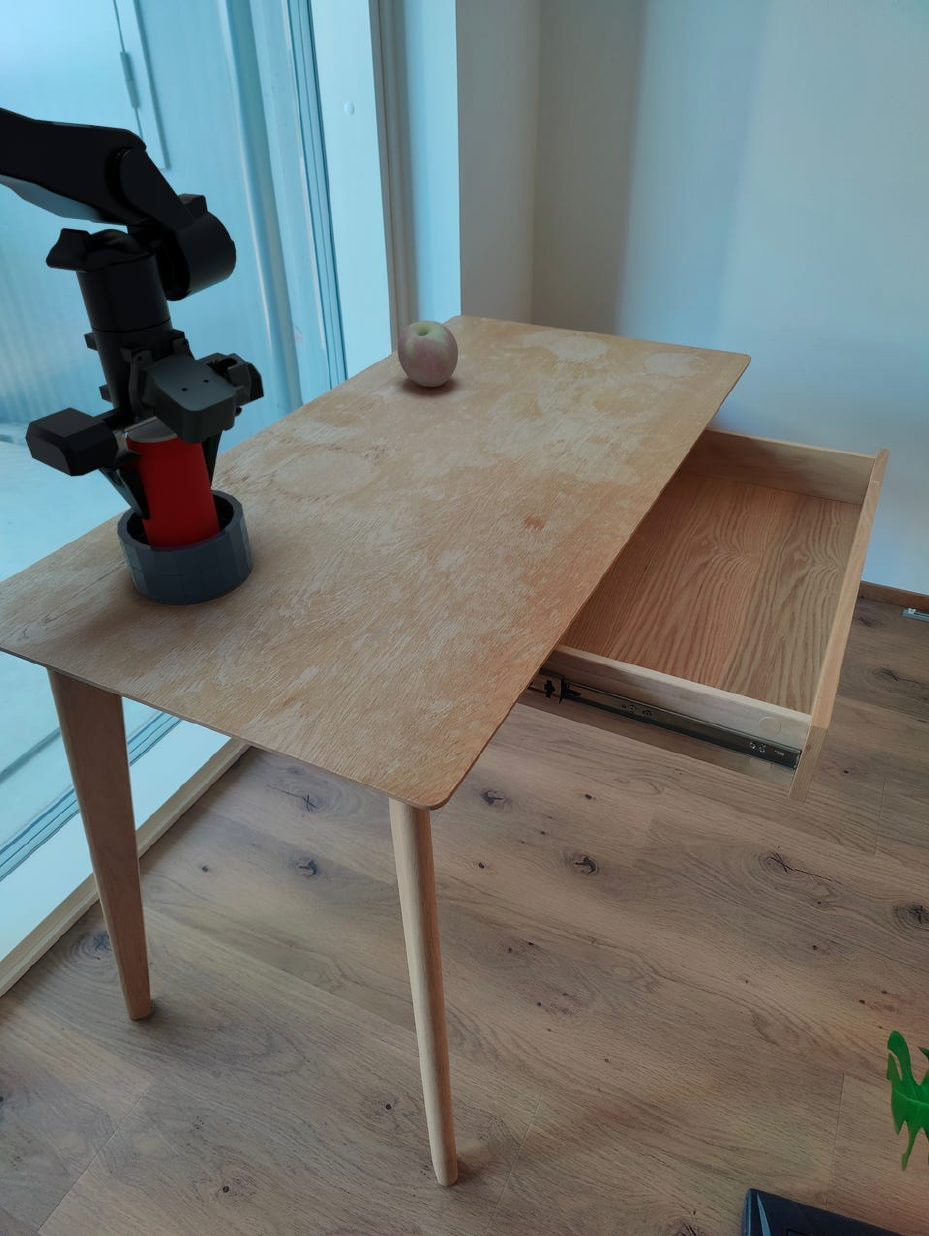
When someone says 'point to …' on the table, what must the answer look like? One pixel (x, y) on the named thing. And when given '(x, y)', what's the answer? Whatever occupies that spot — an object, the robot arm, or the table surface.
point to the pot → (189, 558)
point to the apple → (428, 353)
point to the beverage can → (173, 487)
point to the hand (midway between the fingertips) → (176, 502)
